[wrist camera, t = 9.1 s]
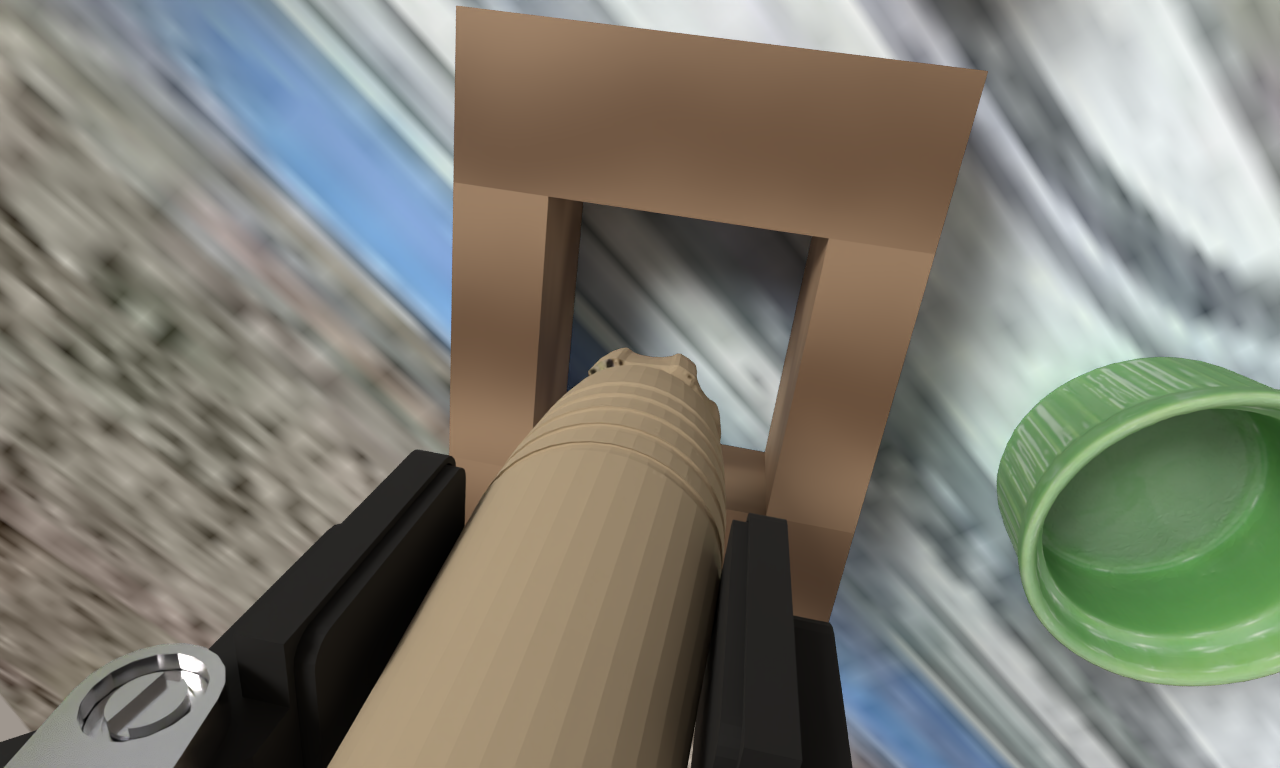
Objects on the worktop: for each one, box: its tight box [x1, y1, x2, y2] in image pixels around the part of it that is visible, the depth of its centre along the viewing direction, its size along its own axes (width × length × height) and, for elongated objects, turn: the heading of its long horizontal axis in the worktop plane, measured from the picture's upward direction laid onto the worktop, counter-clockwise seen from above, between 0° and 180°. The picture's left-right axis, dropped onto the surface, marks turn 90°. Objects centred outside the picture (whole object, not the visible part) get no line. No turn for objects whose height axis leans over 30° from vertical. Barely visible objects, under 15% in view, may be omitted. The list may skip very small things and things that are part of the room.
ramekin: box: [997, 357, 1280, 686], centre depth 20 cm, size 9×9×4 cm
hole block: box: [449, 6, 988, 622], centre depth 21 cm, size 16×12×4 cm
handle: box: [327, 348, 726, 768], centre depth 9 cm, size 5×6×15 cm
